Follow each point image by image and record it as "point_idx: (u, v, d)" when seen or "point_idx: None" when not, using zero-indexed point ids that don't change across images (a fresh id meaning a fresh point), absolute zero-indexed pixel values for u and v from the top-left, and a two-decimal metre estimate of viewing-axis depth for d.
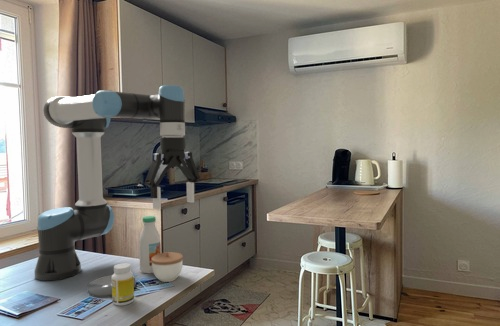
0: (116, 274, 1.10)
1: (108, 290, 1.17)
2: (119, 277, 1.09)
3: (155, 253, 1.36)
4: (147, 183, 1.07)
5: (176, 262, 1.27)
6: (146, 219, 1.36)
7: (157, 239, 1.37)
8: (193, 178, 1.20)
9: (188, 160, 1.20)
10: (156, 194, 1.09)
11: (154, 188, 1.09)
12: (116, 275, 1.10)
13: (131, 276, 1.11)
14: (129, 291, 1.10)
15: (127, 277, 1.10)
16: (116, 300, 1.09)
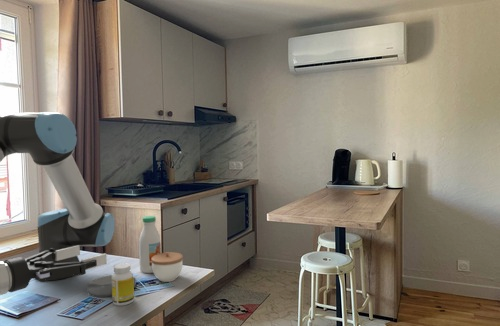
0: (116, 274, 1.10)
1: (108, 290, 1.17)
2: (118, 277, 1.09)
3: (155, 253, 1.36)
4: None
5: (176, 262, 1.27)
6: (146, 219, 1.36)
7: (157, 239, 1.37)
8: None
9: None
10: None
11: None
12: (116, 275, 1.10)
13: (131, 276, 1.11)
14: (129, 291, 1.10)
15: (127, 277, 1.10)
16: (116, 300, 1.09)
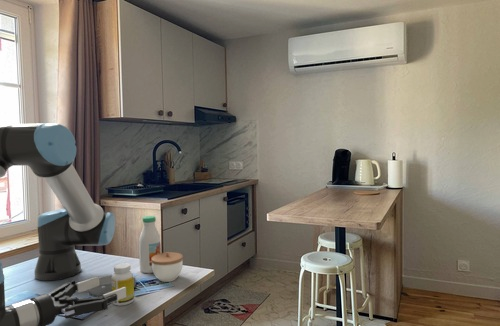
0: (116, 274, 1.10)
1: (108, 290, 1.17)
2: (118, 277, 1.09)
3: (155, 253, 1.36)
4: None
5: (176, 262, 1.27)
6: (146, 219, 1.36)
7: (157, 239, 1.37)
8: None
9: None
10: None
11: None
12: (116, 275, 1.10)
13: (131, 276, 1.11)
14: (129, 291, 1.10)
15: (127, 277, 1.10)
16: None
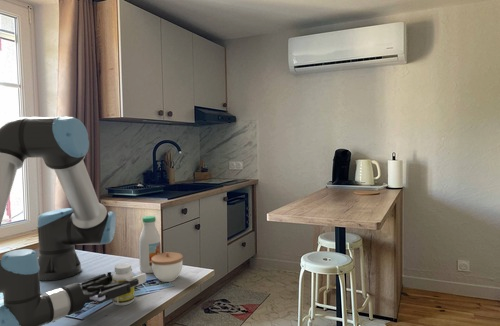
0: (117, 274, 1.10)
1: None
2: (119, 277, 1.09)
3: (155, 253, 1.36)
4: None
5: (176, 262, 1.27)
6: (146, 219, 1.36)
7: (157, 239, 1.37)
8: None
9: None
10: None
11: None
12: (116, 275, 1.09)
13: (132, 276, 1.11)
14: None
15: (127, 277, 1.10)
16: (116, 300, 1.09)
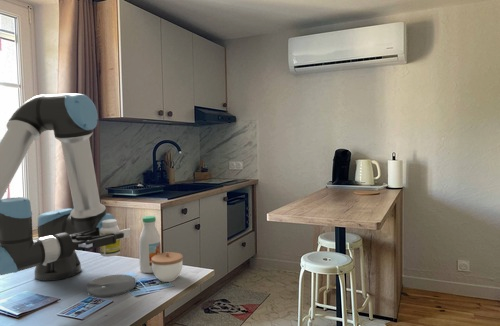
0: (104, 228, 1.20)
1: (108, 290, 1.17)
2: (106, 230, 1.19)
3: (155, 253, 1.36)
4: None
5: (176, 262, 1.27)
6: (146, 219, 1.36)
7: (157, 239, 1.37)
8: None
9: None
10: None
11: None
12: (103, 229, 1.19)
13: (117, 230, 1.21)
14: (116, 243, 1.20)
15: (113, 230, 1.20)
16: (103, 251, 1.19)
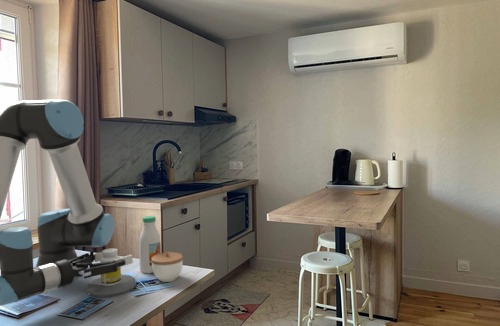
0: (104, 257, 1.21)
1: (108, 290, 1.17)
2: (106, 260, 1.20)
3: (155, 253, 1.36)
4: None
5: (176, 262, 1.27)
6: (146, 219, 1.36)
7: (157, 239, 1.37)
8: None
9: None
10: None
11: None
12: (104, 259, 1.20)
13: None
14: (116, 273, 1.21)
15: None
16: (103, 281, 1.20)
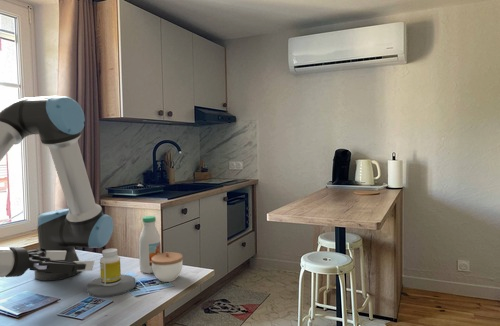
0: (104, 257, 1.21)
1: (108, 290, 1.17)
2: (106, 260, 1.20)
3: (155, 253, 1.36)
4: None
5: (176, 262, 1.27)
6: (146, 219, 1.36)
7: (157, 239, 1.37)
8: None
9: None
10: None
11: None
12: (103, 259, 1.20)
13: (118, 260, 1.22)
14: (116, 273, 1.21)
15: (114, 260, 1.20)
16: (103, 281, 1.20)
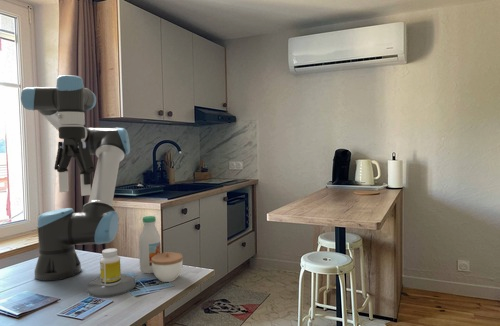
0: (104, 257, 1.21)
1: (108, 290, 1.17)
2: (106, 260, 1.20)
3: (155, 253, 1.36)
4: None
5: (176, 262, 1.27)
6: (146, 219, 1.36)
7: (157, 239, 1.37)
8: (81, 170, 1.13)
9: None
10: None
11: (59, 172, 1.22)
12: (103, 259, 1.20)
13: (118, 260, 1.22)
14: (116, 273, 1.21)
15: (114, 260, 1.20)
16: (103, 281, 1.20)
